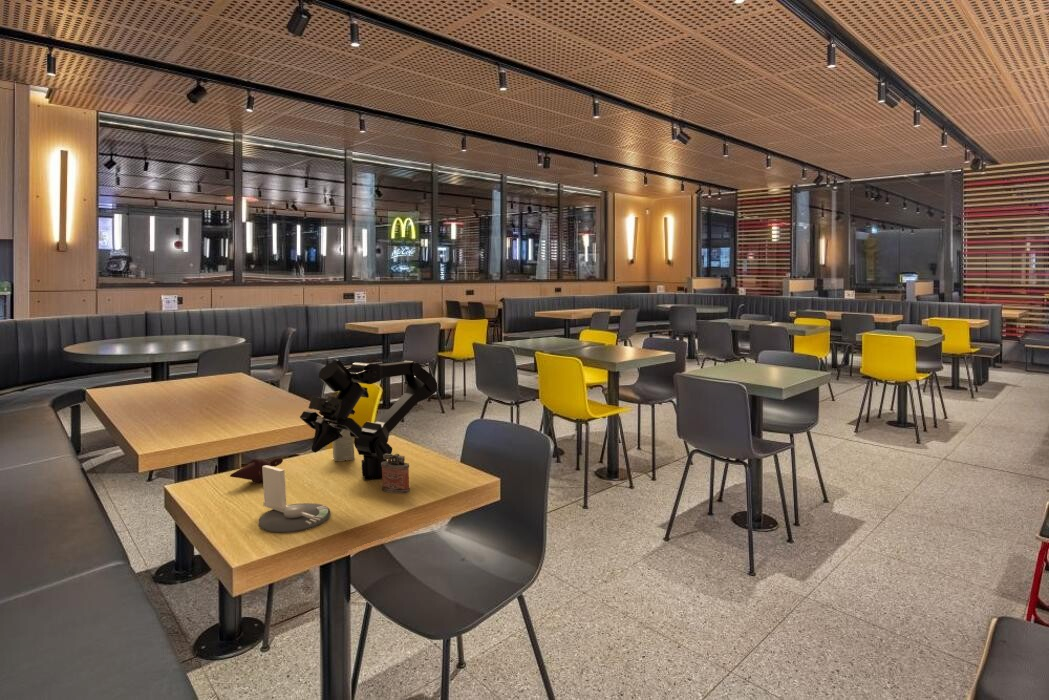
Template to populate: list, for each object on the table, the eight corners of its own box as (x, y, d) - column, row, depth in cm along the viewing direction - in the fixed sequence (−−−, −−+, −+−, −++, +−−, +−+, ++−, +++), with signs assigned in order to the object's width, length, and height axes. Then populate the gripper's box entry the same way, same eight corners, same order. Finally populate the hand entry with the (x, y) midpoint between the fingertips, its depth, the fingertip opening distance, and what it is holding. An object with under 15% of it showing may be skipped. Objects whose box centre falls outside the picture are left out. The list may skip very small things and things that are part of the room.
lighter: (412, 490, 166) (411, 453, 164) (406, 494, 163) (404, 457, 161) (386, 486, 168) (385, 451, 167) (379, 491, 165) (378, 454, 164)
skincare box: (352, 456, 197) (351, 418, 195) (354, 459, 193) (353, 422, 191) (332, 458, 194) (330, 420, 193) (334, 462, 190) (332, 424, 189)
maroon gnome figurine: (238, 469, 164) (290, 460, 176) (225, 458, 168) (276, 450, 180) (235, 493, 165) (286, 482, 177) (222, 481, 170) (272, 471, 182)
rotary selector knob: (322, 516, 145) (320, 475, 144) (305, 524, 141) (302, 481, 139) (275, 501, 155) (273, 463, 153) (257, 508, 151) (255, 468, 149)
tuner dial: (329, 502, 157) (329, 498, 157) (331, 527, 142) (331, 522, 142) (261, 511, 152) (261, 506, 152) (255, 537, 137) (255, 532, 137)
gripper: (303, 381, 166) (269, 429, 158) (351, 387, 156) (317, 440, 148) (329, 404, 173) (297, 452, 166) (375, 412, 163) (344, 463, 155)
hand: (313, 451), depth 158 cm, fingers closed
